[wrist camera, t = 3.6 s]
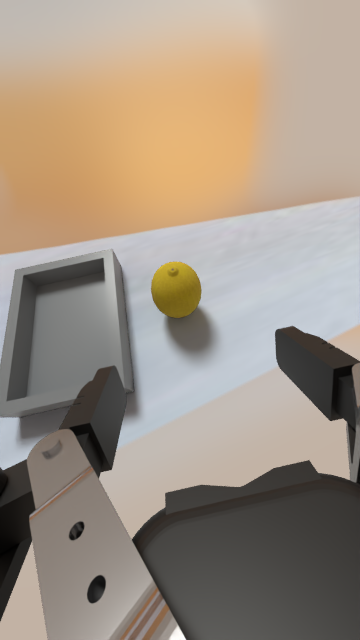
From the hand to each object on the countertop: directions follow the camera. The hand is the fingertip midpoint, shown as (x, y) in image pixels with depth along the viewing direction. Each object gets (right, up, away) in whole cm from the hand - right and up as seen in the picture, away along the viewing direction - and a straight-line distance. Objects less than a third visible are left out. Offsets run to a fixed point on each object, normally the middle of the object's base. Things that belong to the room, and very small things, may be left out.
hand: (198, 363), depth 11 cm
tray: (-14, +1, +17) cm, 22 cm away
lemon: (-1, +4, +17) cm, 17 cm away
